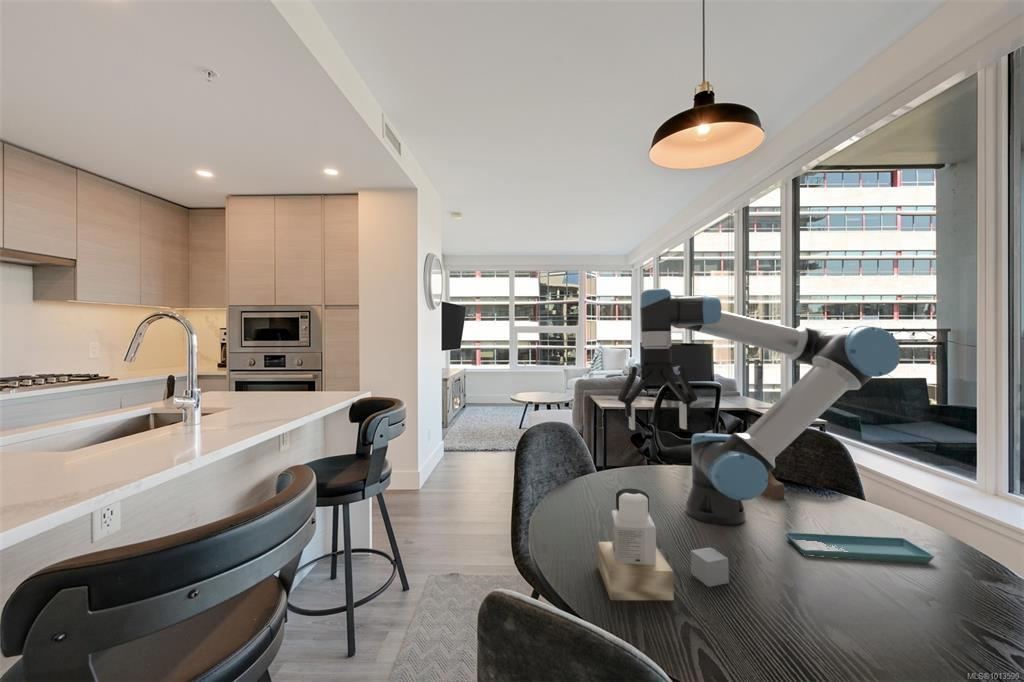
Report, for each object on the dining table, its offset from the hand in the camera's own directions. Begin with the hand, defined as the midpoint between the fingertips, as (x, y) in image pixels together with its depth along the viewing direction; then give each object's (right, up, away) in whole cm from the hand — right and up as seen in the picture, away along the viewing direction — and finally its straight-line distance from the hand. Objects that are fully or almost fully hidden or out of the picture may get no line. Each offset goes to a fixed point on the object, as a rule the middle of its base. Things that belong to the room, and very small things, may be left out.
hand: (657, 428), depth 108 cm
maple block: (-13, -27, -24) cm, 38 cm away
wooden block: (+45, -27, +25) cm, 58 cm away
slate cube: (+3, -26, -23) cm, 35 cm away
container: (-13, -21, -24) cm, 34 cm away
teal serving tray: (+42, -27, -12) cm, 51 cm away
